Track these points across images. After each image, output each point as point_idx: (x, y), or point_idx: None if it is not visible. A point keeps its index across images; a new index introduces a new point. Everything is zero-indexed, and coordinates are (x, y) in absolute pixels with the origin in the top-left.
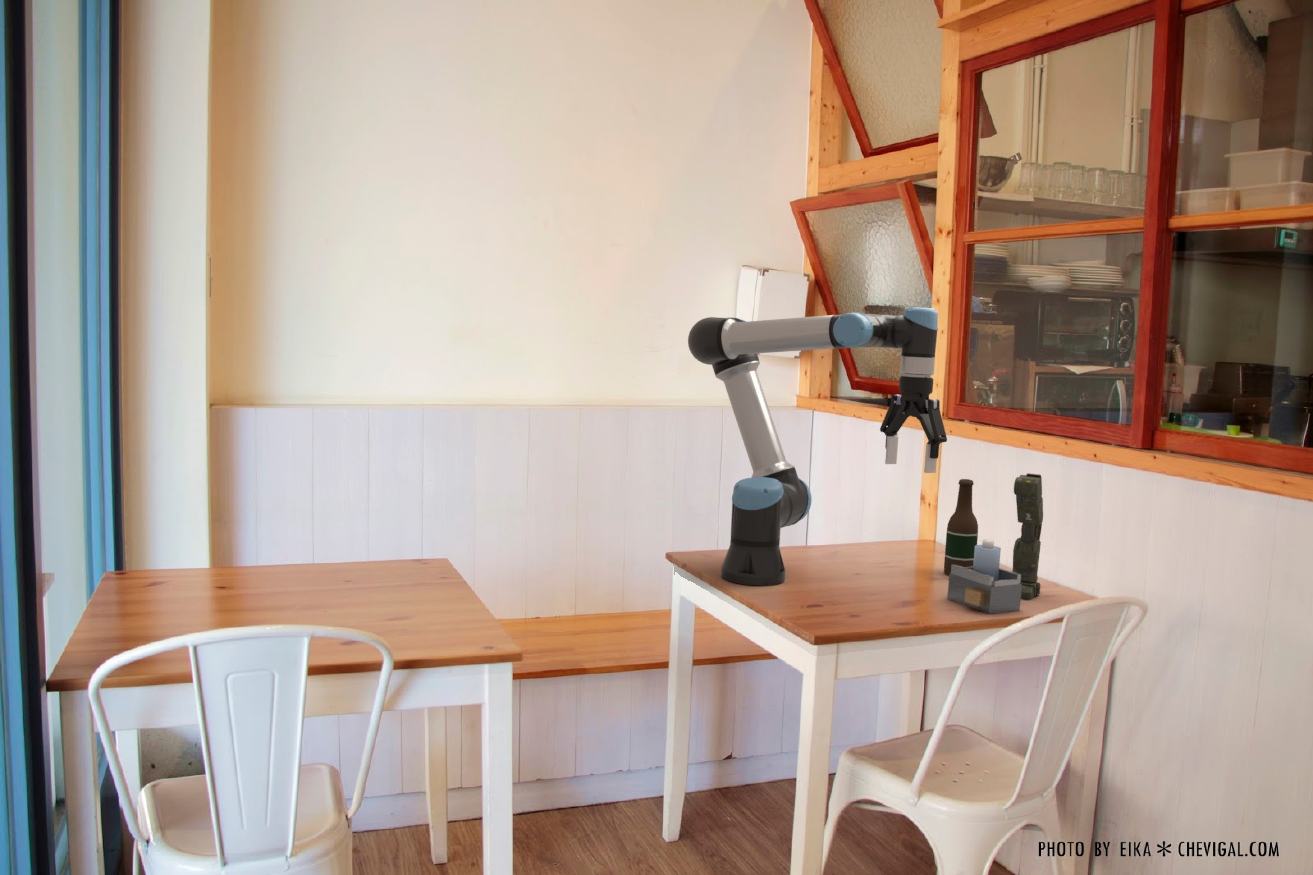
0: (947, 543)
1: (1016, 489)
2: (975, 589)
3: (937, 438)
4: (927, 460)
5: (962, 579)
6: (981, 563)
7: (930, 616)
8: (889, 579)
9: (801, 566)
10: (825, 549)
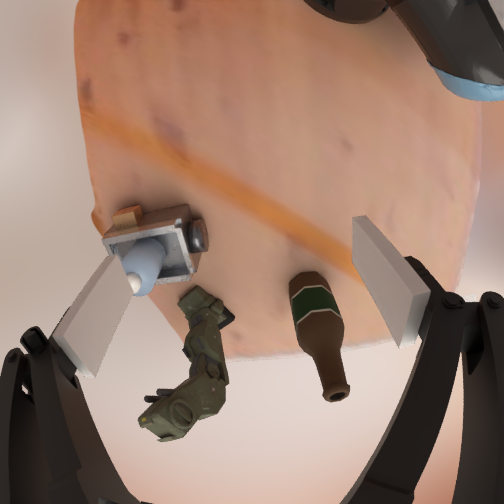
0: (322, 298)
1: (165, 403)
2: (126, 221)
3: (7, 359)
4: (85, 285)
5: (154, 222)
6: (128, 252)
7: (109, 137)
8: (306, 176)
9: (400, 89)
10: (462, 188)
